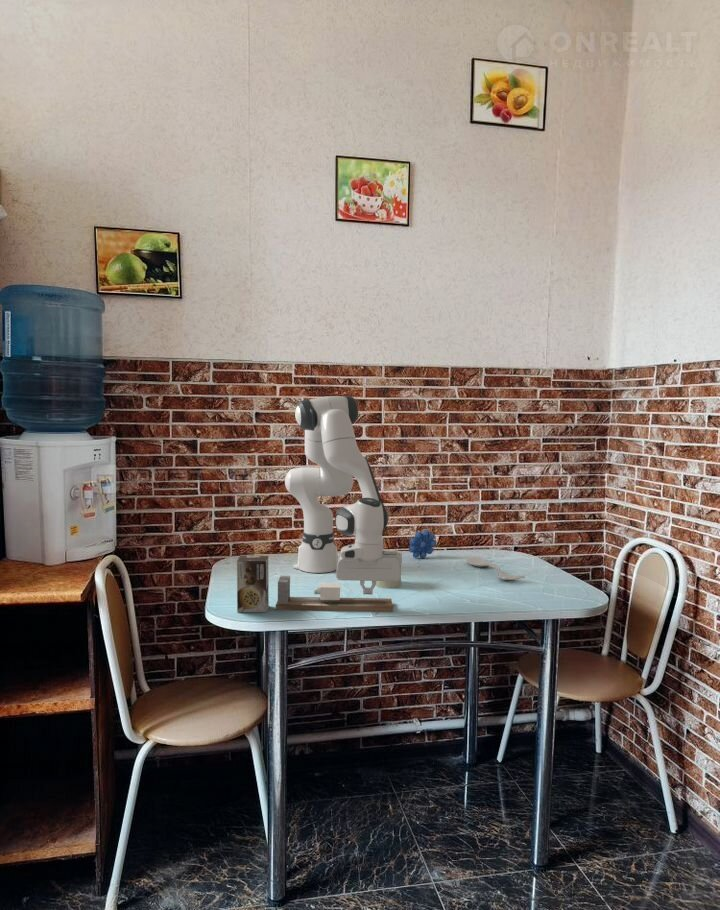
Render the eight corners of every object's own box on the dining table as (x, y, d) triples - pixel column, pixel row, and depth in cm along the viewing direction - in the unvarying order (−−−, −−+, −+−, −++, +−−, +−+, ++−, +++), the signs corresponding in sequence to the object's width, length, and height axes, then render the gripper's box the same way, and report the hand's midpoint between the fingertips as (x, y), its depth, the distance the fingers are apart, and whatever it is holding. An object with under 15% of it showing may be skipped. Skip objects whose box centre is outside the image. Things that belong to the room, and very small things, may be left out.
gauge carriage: (314, 596, 195) (315, 582, 195) (340, 596, 195) (340, 582, 195) (313, 603, 188) (313, 588, 188) (339, 603, 188) (339, 589, 188)
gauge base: (279, 601, 197) (279, 575, 196) (391, 603, 197) (391, 577, 196) (275, 609, 189) (276, 582, 188) (392, 611, 189) (393, 584, 188)
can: (402, 588, 212) (403, 554, 211) (376, 588, 212) (377, 554, 211) (399, 580, 222) (400, 548, 221) (373, 580, 221) (374, 547, 220)
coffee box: (269, 605, 192) (269, 555, 190) (266, 613, 185) (267, 560, 184) (239, 605, 192) (239, 554, 190) (236, 612, 185) (236, 560, 184)
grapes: (433, 555, 259) (434, 527, 258) (437, 559, 252) (438, 531, 251) (406, 555, 257) (407, 527, 256) (409, 560, 251) (410, 531, 250)
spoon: (503, 586, 219) (503, 576, 218) (461, 562, 249) (461, 554, 249) (525, 584, 222) (525, 574, 221) (481, 561, 252) (481, 553, 251)
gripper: (401, 548, 194) (400, 591, 195) (336, 547, 194) (336, 590, 195) (402, 553, 188) (401, 597, 189) (336, 552, 188) (335, 596, 189)
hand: (367, 594), depth 192 cm, fingers closed
